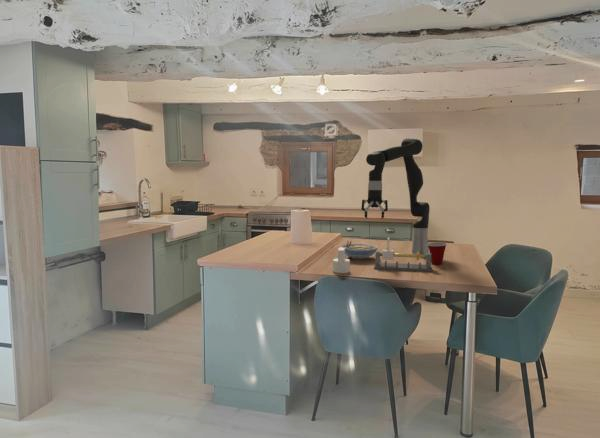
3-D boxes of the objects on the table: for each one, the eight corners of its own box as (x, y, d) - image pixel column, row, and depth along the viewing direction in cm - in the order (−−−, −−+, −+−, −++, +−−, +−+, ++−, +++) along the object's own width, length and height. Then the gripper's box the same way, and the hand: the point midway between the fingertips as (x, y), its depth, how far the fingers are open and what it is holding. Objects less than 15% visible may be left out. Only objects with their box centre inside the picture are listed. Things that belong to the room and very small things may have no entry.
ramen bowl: (377, 263, 256) (377, 249, 255) (337, 261, 261) (337, 248, 260) (378, 255, 281) (378, 242, 280) (342, 253, 285) (342, 241, 284)
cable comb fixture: (374, 268, 242) (374, 253, 241) (375, 264, 254) (375, 249, 253) (431, 271, 236) (432, 255, 235) (430, 267, 247) (430, 251, 246)
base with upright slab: (349, 273, 232) (349, 250, 231) (332, 272, 234) (332, 250, 232) (350, 269, 241) (350, 247, 240) (333, 268, 243) (333, 247, 241)
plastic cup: (425, 261, 262) (426, 241, 261) (444, 262, 260) (445, 241, 259) (427, 265, 251) (427, 244, 250) (447, 266, 249) (448, 245, 248)
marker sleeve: (382, 259, 244) (382, 238, 243) (382, 257, 249) (383, 237, 248) (393, 259, 243) (393, 238, 242) (393, 258, 248) (394, 237, 246)
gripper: (361, 189, 243) (360, 218, 245) (388, 189, 240) (387, 219, 242) (362, 188, 250) (361, 217, 252) (388, 189, 248) (387, 218, 249)
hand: (374, 218), depth 247 cm, fingers open, 8 cm apart
